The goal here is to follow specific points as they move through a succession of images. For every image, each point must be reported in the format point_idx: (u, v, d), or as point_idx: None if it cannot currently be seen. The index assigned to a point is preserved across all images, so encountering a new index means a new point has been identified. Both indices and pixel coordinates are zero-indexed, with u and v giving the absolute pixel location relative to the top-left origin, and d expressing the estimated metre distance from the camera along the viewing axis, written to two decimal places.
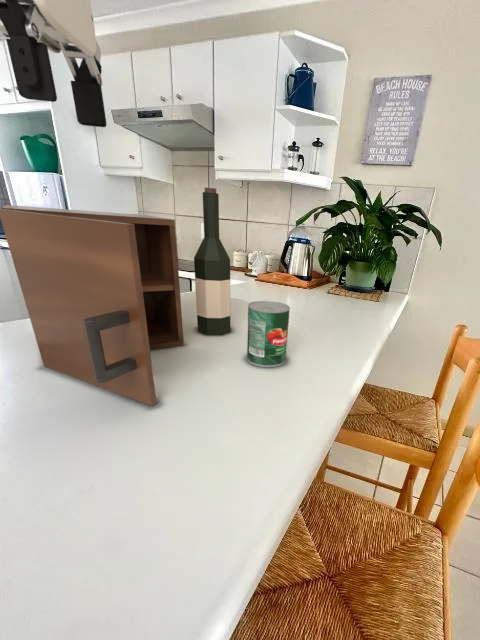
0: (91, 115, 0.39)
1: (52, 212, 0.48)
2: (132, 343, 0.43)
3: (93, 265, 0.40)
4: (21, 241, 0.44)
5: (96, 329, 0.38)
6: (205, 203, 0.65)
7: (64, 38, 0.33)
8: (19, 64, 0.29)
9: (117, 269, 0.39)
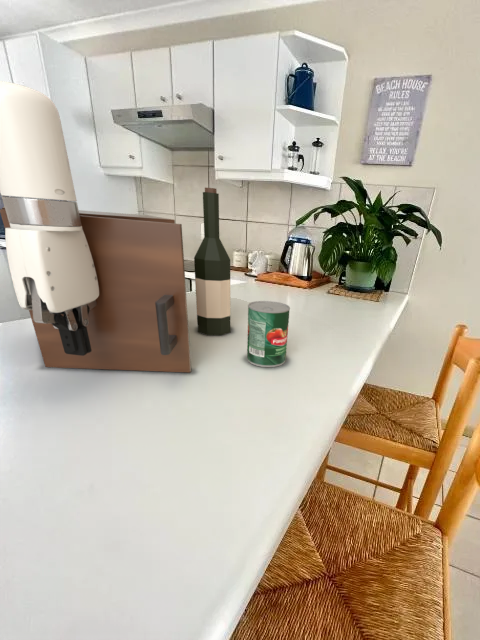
0: None
1: None
2: (174, 321, 0.53)
3: (135, 259, 0.48)
4: None
5: (165, 309, 0.47)
6: (205, 203, 0.65)
7: None
8: (64, 342, 0.46)
9: (164, 260, 0.48)
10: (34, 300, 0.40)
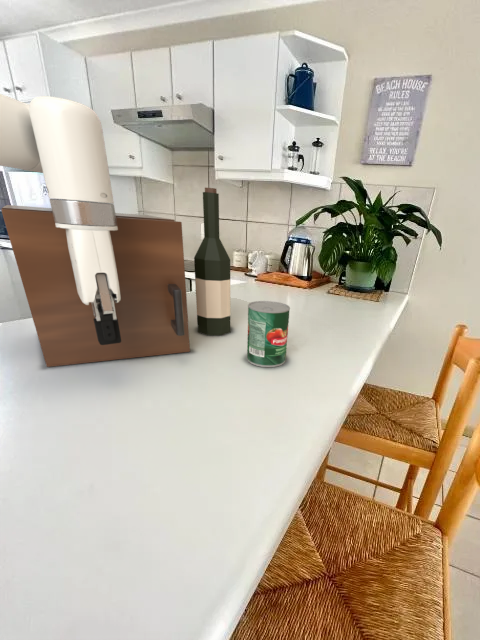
0: None
1: (52, 212, 0.48)
2: None
3: (142, 253, 0.54)
4: (39, 240, 0.47)
5: (181, 295, 0.55)
6: (205, 203, 0.65)
7: None
8: (105, 333, 0.50)
9: (168, 253, 0.56)
10: (102, 293, 0.45)
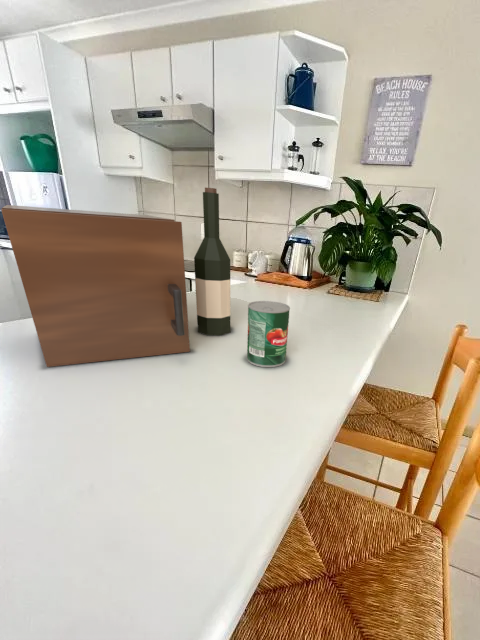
0: None
1: (52, 212, 0.48)
2: None
3: (142, 253, 0.54)
4: (39, 240, 0.47)
5: (181, 295, 0.55)
6: (205, 203, 0.65)
7: None
8: None
9: (168, 253, 0.56)
10: None
